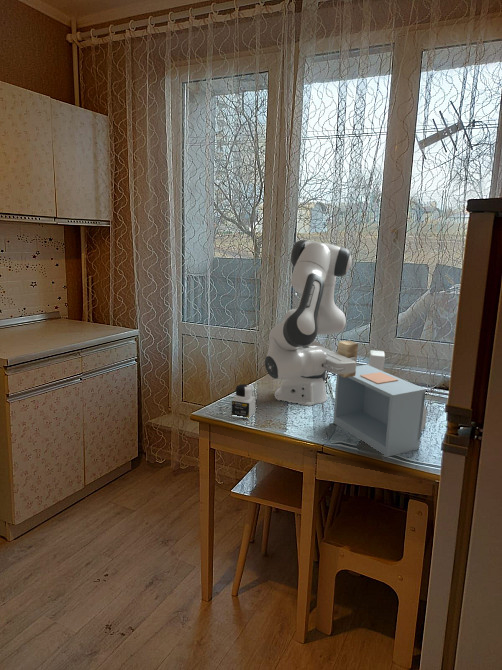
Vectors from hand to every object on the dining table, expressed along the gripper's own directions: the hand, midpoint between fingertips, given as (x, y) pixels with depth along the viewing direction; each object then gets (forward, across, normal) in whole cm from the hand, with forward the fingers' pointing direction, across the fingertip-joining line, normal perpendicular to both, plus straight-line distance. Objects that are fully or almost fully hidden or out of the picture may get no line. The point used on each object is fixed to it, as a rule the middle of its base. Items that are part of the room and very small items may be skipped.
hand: (349, 356), depth 156 cm
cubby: (+14, 0, +30) cm, 33 cm away
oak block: (-1, 0, +6) cm, 6 cm away
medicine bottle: (-21, +34, +31) cm, 51 cm away
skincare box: (+50, +42, +31) cm, 73 cm away
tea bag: (+33, -2, +31) cm, 45 cm away
